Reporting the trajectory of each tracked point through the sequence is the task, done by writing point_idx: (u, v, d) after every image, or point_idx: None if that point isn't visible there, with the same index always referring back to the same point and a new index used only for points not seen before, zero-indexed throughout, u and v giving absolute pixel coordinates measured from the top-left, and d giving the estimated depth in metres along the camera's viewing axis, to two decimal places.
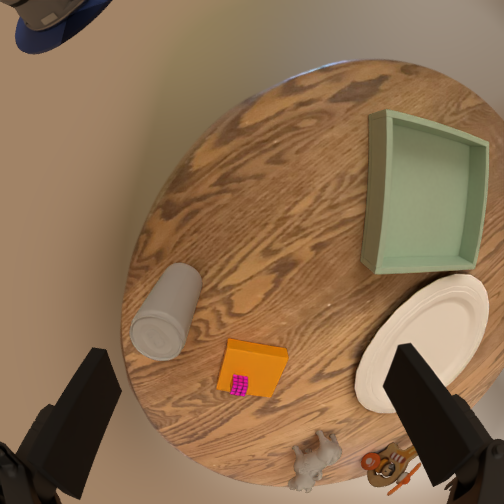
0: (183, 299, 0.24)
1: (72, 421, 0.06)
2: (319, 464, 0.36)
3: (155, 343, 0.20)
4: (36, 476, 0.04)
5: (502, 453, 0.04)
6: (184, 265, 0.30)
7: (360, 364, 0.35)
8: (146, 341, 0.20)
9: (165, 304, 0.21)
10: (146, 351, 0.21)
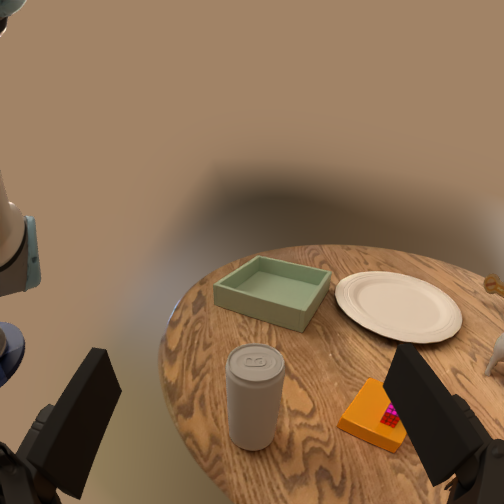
0: None
1: (72, 421, 0.06)
2: None
3: (260, 364, 0.20)
4: (36, 476, 0.04)
5: (502, 453, 0.04)
6: None
7: (394, 338, 0.38)
8: (254, 369, 0.20)
9: None
10: (265, 376, 0.19)
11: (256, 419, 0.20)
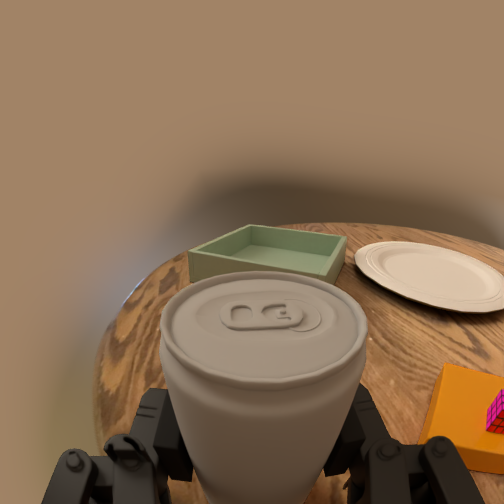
0: None
1: None
2: None
3: (282, 321, 0.06)
4: (158, 471, 0.06)
5: (392, 454, 0.05)
6: None
7: (451, 308, 0.24)
8: (264, 338, 0.05)
9: None
10: (315, 362, 0.04)
11: (271, 495, 0.05)
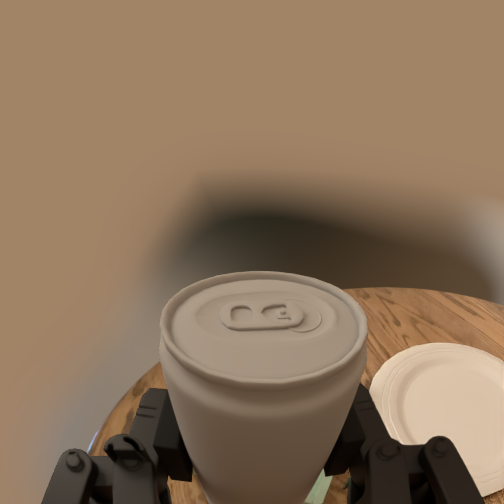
0: None
1: None
2: None
3: (282, 321, 0.06)
4: (158, 471, 0.06)
5: (392, 454, 0.05)
6: None
7: None
8: (264, 339, 0.05)
9: None
10: (316, 363, 0.04)
11: (271, 496, 0.05)
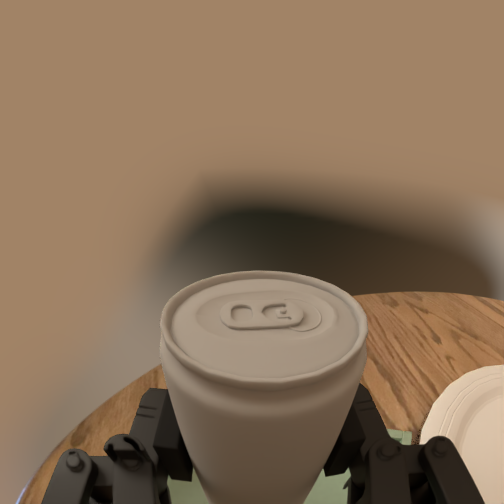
0: None
1: None
2: None
3: (283, 320, 0.06)
4: (158, 471, 0.06)
5: (392, 454, 0.05)
6: None
7: None
8: (264, 338, 0.05)
9: None
10: (315, 363, 0.04)
11: (271, 495, 0.05)
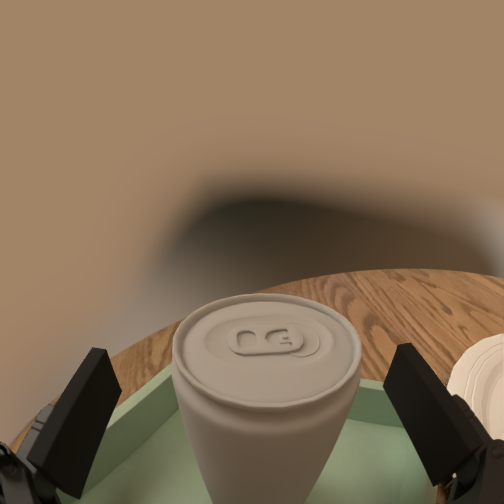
0: None
1: (72, 421, 0.06)
2: None
3: (284, 346, 0.06)
4: (36, 476, 0.04)
5: (502, 453, 0.04)
6: None
7: None
8: (268, 364, 0.05)
9: None
10: (313, 387, 0.05)
11: (273, 499, 0.06)
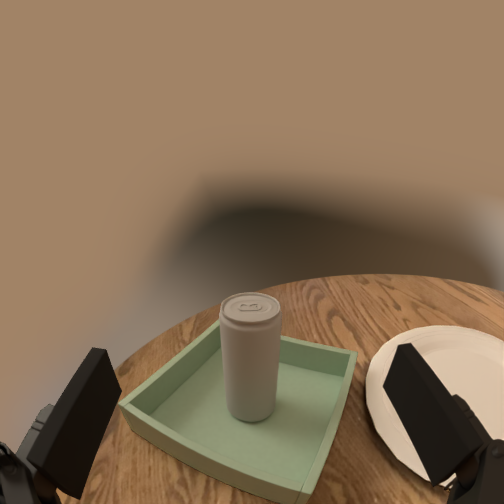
0: None
1: (72, 421, 0.06)
2: None
3: (255, 308, 0.20)
4: (36, 476, 0.04)
5: (502, 453, 0.04)
6: None
7: None
8: (250, 313, 0.20)
9: None
10: (262, 318, 0.19)
11: (254, 375, 0.20)
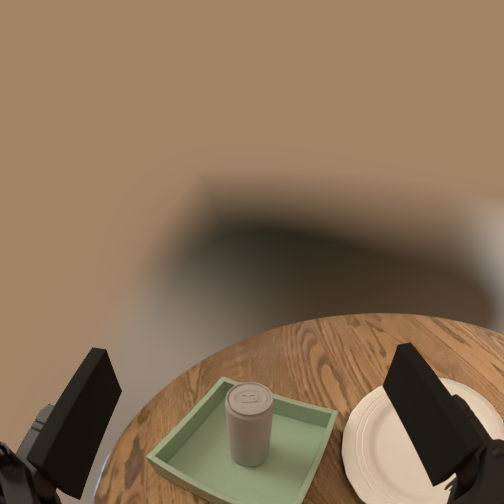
0: None
1: (72, 421, 0.06)
2: None
3: (253, 400, 0.23)
4: (36, 476, 0.04)
5: (502, 453, 0.04)
6: None
7: None
8: (249, 405, 0.23)
9: None
10: (258, 410, 0.22)
11: (252, 442, 0.23)
